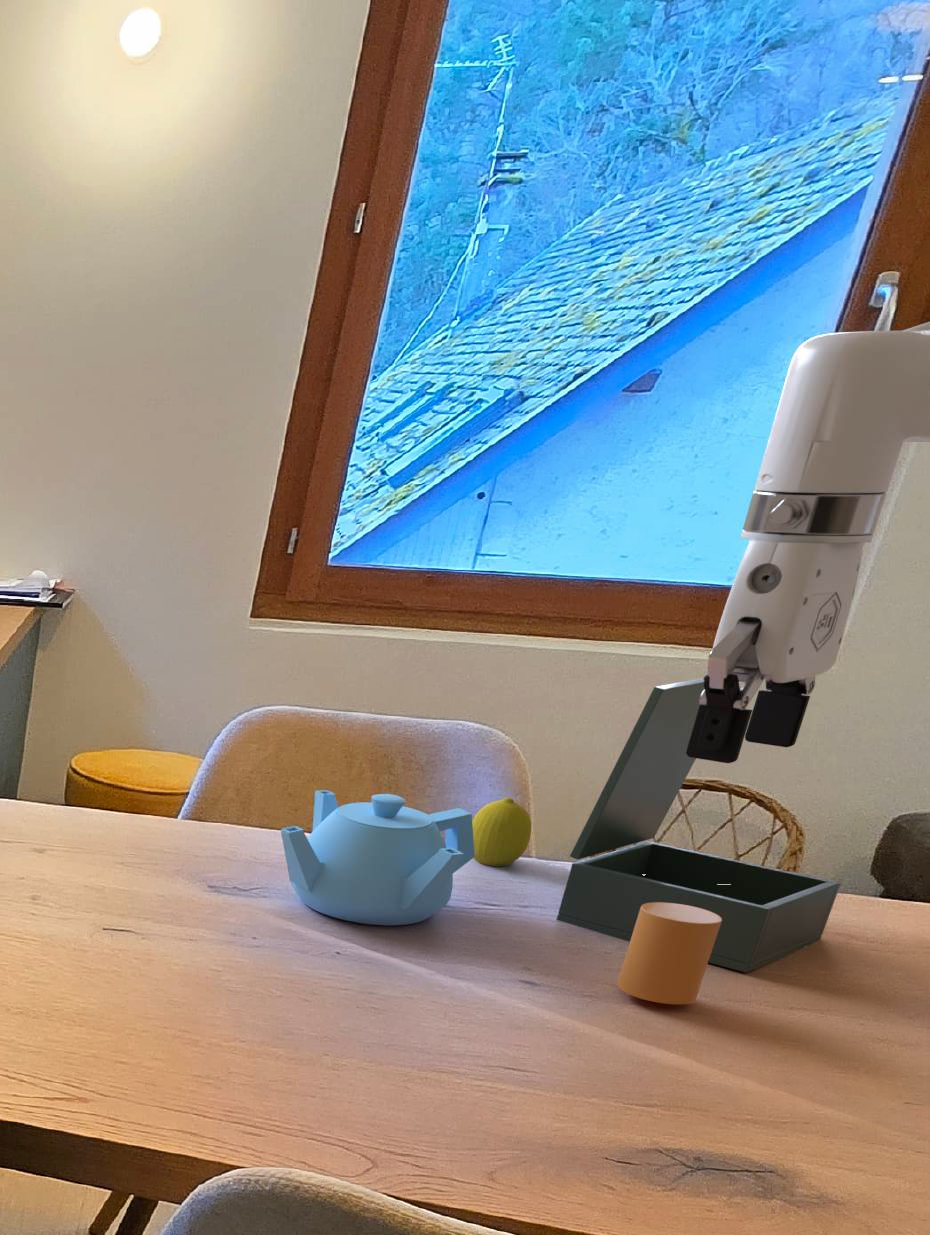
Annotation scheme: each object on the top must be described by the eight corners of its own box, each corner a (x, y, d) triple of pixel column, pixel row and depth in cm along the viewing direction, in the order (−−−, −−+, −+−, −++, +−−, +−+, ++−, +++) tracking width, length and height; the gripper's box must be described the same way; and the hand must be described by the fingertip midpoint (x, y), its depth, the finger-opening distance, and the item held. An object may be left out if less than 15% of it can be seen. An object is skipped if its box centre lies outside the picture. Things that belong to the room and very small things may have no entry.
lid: (740, 675, 130) (731, 672, 130) (663, 689, 123) (654, 686, 123) (654, 838, 138) (645, 834, 139) (577, 860, 131) (569, 856, 132)
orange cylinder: (707, 996, 116) (734, 916, 114) (676, 1009, 114) (703, 927, 111) (635, 975, 121) (660, 898, 118) (604, 988, 118) (628, 908, 115)
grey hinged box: (819, 943, 129) (841, 882, 126) (746, 973, 121) (768, 909, 119) (631, 897, 141) (648, 840, 139) (555, 921, 134) (572, 862, 131)
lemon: (530, 879, 146) (551, 805, 143) (476, 880, 146) (496, 806, 143) (501, 861, 151) (520, 789, 148) (448, 862, 151) (467, 790, 148)
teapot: (438, 947, 128) (468, 833, 123) (262, 912, 136) (284, 804, 131) (464, 896, 139) (493, 790, 134) (300, 867, 147) (322, 766, 142)
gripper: (821, 527, 96) (745, 776, 102) (923, 516, 104) (846, 746, 111) (695, 521, 102) (631, 757, 108) (801, 511, 110) (735, 730, 116)
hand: (740, 751), depth 109 cm, fingers open, 9 cm apart
